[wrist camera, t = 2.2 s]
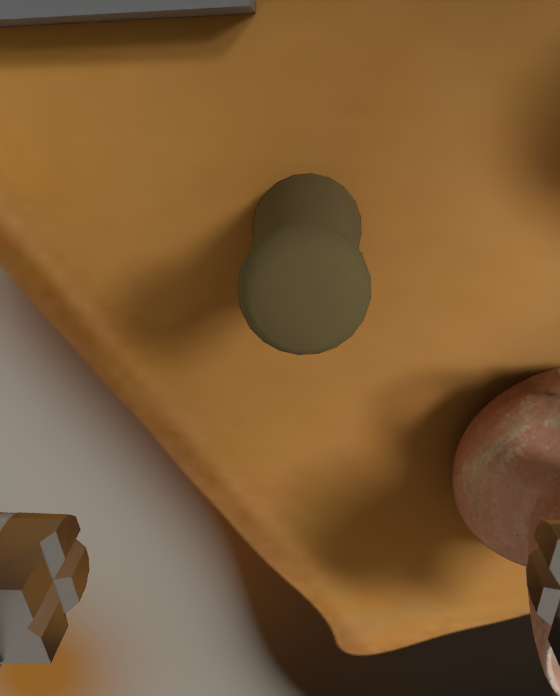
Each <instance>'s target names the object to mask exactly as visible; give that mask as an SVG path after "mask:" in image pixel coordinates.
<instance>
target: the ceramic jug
mask: <svg viewBox="0 0 560 696" xmlns="http://www.w3.org/2000/svg"><path fill="white" fill-rule="evenodd" d="M452 488H453V495H454V499H455V503H456V506H457V508H458V511H459V513H460V515H461V517H462V519H463V521H464V522H465V524H466V525H467V526H468V528H469V529H470V530H471V531H472V533H473V534H474V535H475V536H476V537H477V538H478V539H479V540H480V541H481V542H482V543H484V544H485V545H486V546H487V547H488V548H490V549H491V550H493V551H494V552H496V553H497V554H499V555H501V556H502V557H504V558H506V559H508V560H510V561H513V562H515V563H517V564H520V565H523V566H527V562H528V557H529V555H530V554H531V553H532V552H533V551H535V550H536V549H537V548H538V547H539V546H538V544H537V542H536V540H535V538H534V534H535V530H536V526H537V525H538V523H539V522H540V521H541V520H560V367H559V368H552V369H550V370H548V371H545V372H542V373H539V374H536V375H533V376H531V377H529V378H527V379H526V380H524V381H521V382H519V383H518V384H516V385H514V386H512V387H510V388H509V389H507V390H505V391H504V392H502V393H501V394H500V395H498V396H497V397H496V398H494V399H493V400H492V401H491V402H489V403H488V404H487V405H486V406H485V407H484V408H483V409H482V410H481V411H480V412H479V413H478V414H477V415H476V416H475V418H474V419H473V420H472V421H471V423H470V424H469V425H468V427H467V429H466V430H465V432H464V434H463V436H462V438H461V440H460V442H459V444H458V447H457V450H456V454H455V458H454V463H453V470H452ZM528 595H529V604H530V613H531V619H532V626H533V632H534V637H535V642H536V646H537V650H538V653H539V657H540V660H541V664H542V667H543V670H544V673H545V676H546V677H547V679H548V681H549V683H550V685H551V687H552V688H553V690H554V691H555V692H556V693H557V694H558V696H560V666H559V664H558V662H557V659H556V657H555V655H554V653H553V650H552V648H551V646H550V643H549V641H548V636H549V633H550V630H551V625H550V624H549V623H547V622H546V621H545V620H544V619H543V618H542V617H540V616H539V615H538V614H537V613H536V611H535V608H534V606H533V603H532V601H531V598H530V594H529V591H528Z"/></svg>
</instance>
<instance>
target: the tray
mask: <svg viewBox="0 0 560 696" xmlns="http://www.w3.org/2000/svg"><path fill="white" fill-rule="evenodd" d="M252 13H256V1H255V0H0V27H13V26H31V25H50V24H68V23H86V22H105V21H123V20H142V19H160V18H178V17H197V16H215V15H233V14H252Z"/></svg>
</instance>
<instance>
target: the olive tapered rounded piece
mask: <svg viewBox="0 0 560 696" xmlns="http://www.w3.org/2000/svg"><path fill="white" fill-rule="evenodd" d="M253 238H254V245H253V246H252V248H251V250H250V252H249V253H248V255H247V257H246V259H245V260H244V262H243V264H242V266H241V270H240V275H239V280H238V285H237V289H238V296H239V303H240V308H241V311H242V313H243V315H244V317H245V319H246V321H247V323H248V325H249V327H250V329H251V330H252V331H253V332H254V333H255V334H256V335H257V336H258V337H259V338H260V339H261V340H262V341H263V342H265V343H267V344H269V345H270V346H272V347H274V348H276V349H278V350H280V351H284V352H288V353H293V354H297V355H304V354H319V353H321V352H324V351H327V350H330V349H333V348H336V347H337V346H339V345H340V344H341V343H343V342H344V341H346V340H347V339H348V338H350V337H351V336H352V335H353V334H354V332H355V331H356V330H357V328H358V327H359V325H360V324H361V323H362V321H363V320H364V317H365V314H366V311H367V308H368V305H369V302H370V299H371V277H370V274H369V271H368V269H367V266H366V263H365V261H364V258H363V255H362V253H361V252H360V251H359V244H360V239H361V216H360V213H359V211H358V208H357V205H356V202H355V200H354V199H353V198H352V196H351V195H350V194H349V193H348V191H347V190H346V189H345V188H344V187H343V186H342V185H340V184H338V183H337V182H335V181H334V180H332V179H331V178H329V177H325V176H321V175H316V174H312V173H310V174H299V175H293V176H290V177H288V178H286V179H284V180H281V181H279V182H277V183H276V184H275V185H274V186H273V187H272V188H271V189H269V190H268V191H267V192H266V193H265V194H264V196H263V197H262V199H261V201H260V203H259V205H258V206H257V208H256V211H255V216H254V221H253Z"/></svg>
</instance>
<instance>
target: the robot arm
mask: <svg viewBox="0 0 560 696" xmlns="http://www.w3.org/2000/svg"><path fill="white" fill-rule="evenodd" d="M79 532H80V527H79V524H78V521H77V519H76V517H75V516H73V515H67V514H42V513H3V512H0V668H1V666H2V665H1V663H51V662H52V660H53V658H54V656H55V653H56V651H57V649H58V647H59V645H60V642H61V641H62V638H63V636H64V634H65V632H66V630H67V627H68V622H67V618H66V614H65V613H66V612H67V611H69V610H70V609H71V608H72V607H74V606H75V605H76V604H77V603H78V602H79V601H80V599H81V597H82V594H83V592H84V590H85V587H86V583H87V577H88V573H89V558H88V554H87V550H86V547H85V546H84V545H82V544H81V543H80V542H79V541H78V540H76V537H77V535H78V533H79ZM534 538H535V540H536V542H537V544H538V546H539V547H538V548H537V549H536V550H535V551H533V552H532V553H531V554H530V555H529V557H528V562H527V567H526V576H527V587H528V591H529V594H530V598H531V601H532V603H533V606H534V608H535V611H536V613H537V614H538V615H539V616H540V617H542V618H543V619H544V620H545V621H546V622H547V623H549V624H550V625H551V630H550V633H549V636H548V641H549V643H550V646H551V648H552V650H553V653H554V655H555V657H556V659H557V662H558V664H559V666H560V520H541V521H540V522H539V523H538V525H537V526H536V530H535V534H534Z"/></svg>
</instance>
